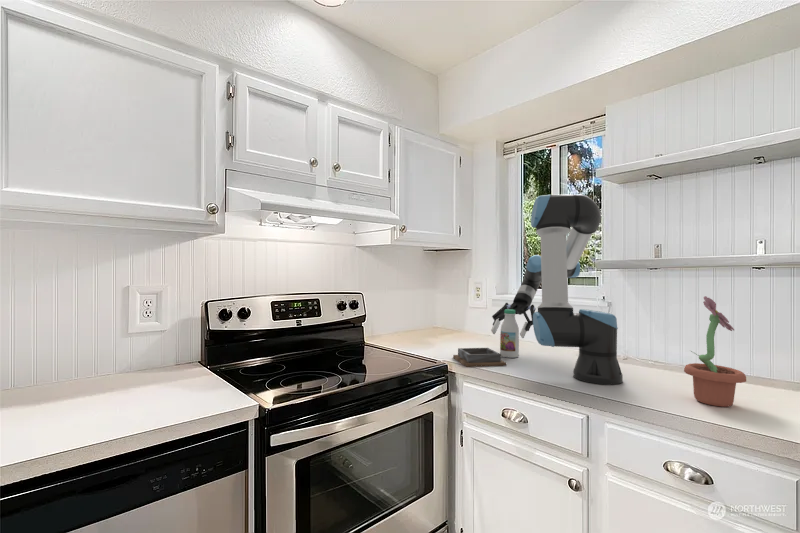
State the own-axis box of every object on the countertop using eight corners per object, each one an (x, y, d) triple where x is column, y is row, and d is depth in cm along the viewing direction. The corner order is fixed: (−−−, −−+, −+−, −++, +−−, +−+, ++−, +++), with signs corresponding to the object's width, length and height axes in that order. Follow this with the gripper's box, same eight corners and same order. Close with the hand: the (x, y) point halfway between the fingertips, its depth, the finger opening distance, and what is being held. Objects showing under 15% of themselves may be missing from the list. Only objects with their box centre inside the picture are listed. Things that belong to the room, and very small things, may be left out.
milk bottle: (507, 353, 178) (507, 308, 178) (522, 356, 172) (522, 309, 172) (496, 355, 173) (496, 309, 173) (511, 359, 167) (512, 310, 168)
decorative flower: (753, 416, 103) (754, 299, 104) (687, 406, 110) (688, 296, 110) (739, 400, 116) (739, 296, 117) (681, 392, 123) (681, 294, 123)
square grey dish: (506, 365, 155) (506, 354, 155) (466, 366, 153) (466, 355, 153) (489, 356, 171) (489, 346, 171) (453, 357, 168) (453, 347, 168)
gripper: (553, 304, 175) (537, 343, 164) (502, 301, 193) (485, 336, 182) (548, 293, 171) (531, 331, 161) (496, 290, 189) (478, 325, 178)
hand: (506, 334), depth 171 cm, fingers open, 13 cm apart
